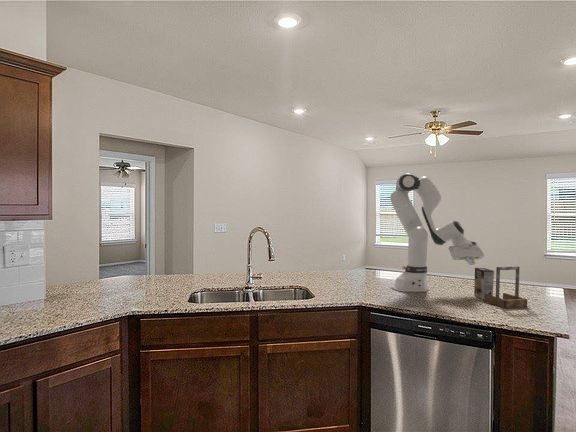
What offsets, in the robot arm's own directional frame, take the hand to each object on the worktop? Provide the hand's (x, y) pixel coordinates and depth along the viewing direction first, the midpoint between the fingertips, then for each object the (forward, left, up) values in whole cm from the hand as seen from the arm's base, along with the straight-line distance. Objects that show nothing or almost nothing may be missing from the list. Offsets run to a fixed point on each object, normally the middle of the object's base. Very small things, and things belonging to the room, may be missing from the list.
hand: (472, 264), depth 240 cm
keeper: (0, -25, -17) cm, 30 cm away
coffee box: (0, -9, -18) cm, 20 cm away
